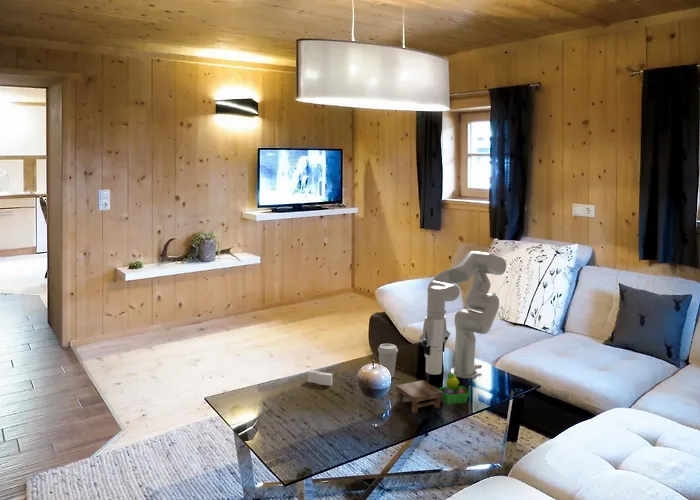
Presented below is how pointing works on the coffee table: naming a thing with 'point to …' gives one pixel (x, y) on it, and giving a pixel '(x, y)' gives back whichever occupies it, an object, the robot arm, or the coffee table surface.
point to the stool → (419, 394)
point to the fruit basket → (454, 391)
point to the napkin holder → (320, 377)
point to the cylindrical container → (435, 349)
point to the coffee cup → (388, 356)
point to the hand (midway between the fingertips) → (434, 352)
